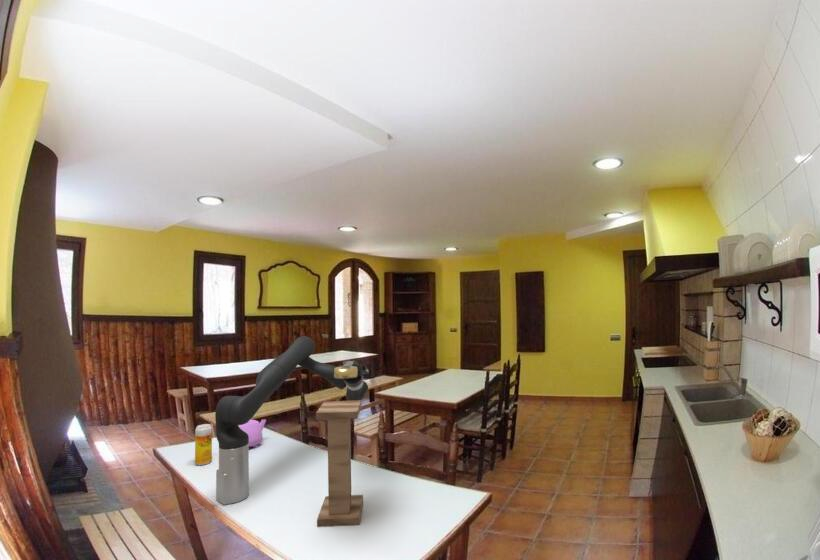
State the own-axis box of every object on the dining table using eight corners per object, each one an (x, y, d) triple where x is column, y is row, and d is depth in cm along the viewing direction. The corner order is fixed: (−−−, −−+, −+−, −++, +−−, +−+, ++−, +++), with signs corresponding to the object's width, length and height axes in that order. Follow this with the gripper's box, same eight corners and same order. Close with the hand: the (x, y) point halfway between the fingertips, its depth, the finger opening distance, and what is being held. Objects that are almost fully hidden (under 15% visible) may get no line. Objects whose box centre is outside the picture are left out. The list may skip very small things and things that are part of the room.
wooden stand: (325, 502, 129) (324, 401, 131) (363, 501, 130) (361, 400, 132) (317, 526, 115) (315, 413, 117) (359, 524, 116) (357, 411, 118)
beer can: (204, 466, 162) (205, 428, 163) (191, 465, 163) (191, 427, 164) (215, 460, 168) (215, 423, 169) (202, 459, 169) (202, 423, 170)
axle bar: (340, 368, 158) (340, 361, 158) (361, 368, 158) (361, 360, 158) (332, 379, 137) (332, 370, 137) (356, 378, 137) (356, 369, 137)
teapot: (230, 456, 172) (230, 426, 173) (217, 450, 180) (217, 421, 180) (273, 443, 187) (272, 415, 188) (258, 438, 195) (258, 411, 196)
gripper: (337, 370, 169) (331, 354, 154) (371, 369, 169) (368, 353, 155) (336, 388, 165) (330, 373, 150) (370, 387, 165) (367, 371, 151)
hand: (349, 363), depth 153 cm, fingers closed on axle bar, 3 cm apart
